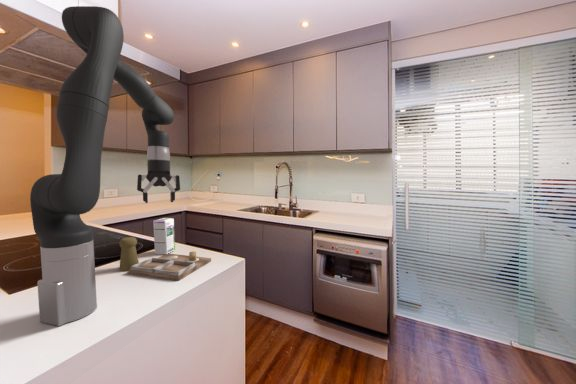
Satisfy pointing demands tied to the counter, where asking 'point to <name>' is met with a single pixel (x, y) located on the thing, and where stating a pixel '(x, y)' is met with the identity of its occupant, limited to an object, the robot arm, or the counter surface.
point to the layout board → (169, 266)
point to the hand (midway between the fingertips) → (159, 202)
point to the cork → (128, 253)
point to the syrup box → (164, 235)
